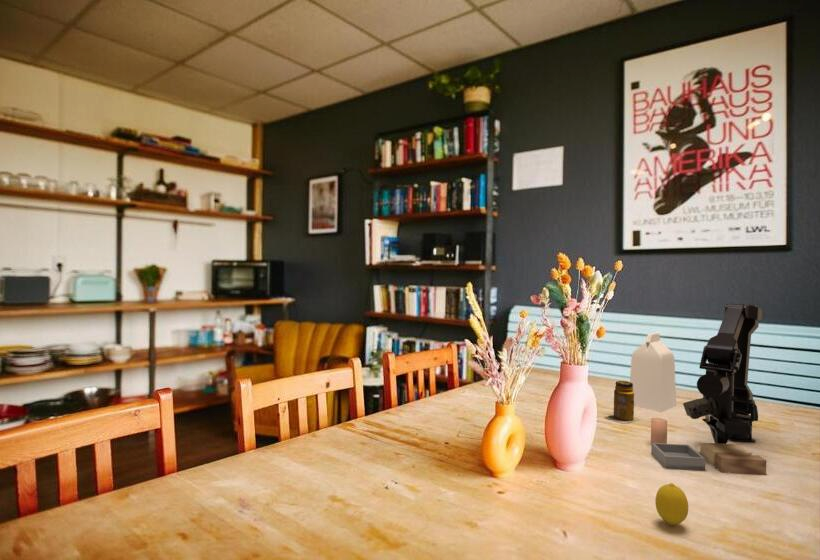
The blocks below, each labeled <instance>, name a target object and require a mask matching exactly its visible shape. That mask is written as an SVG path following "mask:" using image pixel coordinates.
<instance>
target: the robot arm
mask: <svg viewBox="0 0 820 560" xmlns="http://www.w3.org/2000/svg"><path fill="white" fill-rule="evenodd" d="M762 318H763V310H762V308H761V307H759V306H758V305H757V304H751V303H750V304H748V303H739V302H738V303H735V302H729V303H726V304H725V305H724V310H723V318H722V321H721V323H720V326H719V330H718V331H717V334H716V335H714V336H712V337H710V338H709V339H708V341H707V343H706V345H704V346H703V350H702V355H701V358H700V363H699V369H700V370H705V374H703V375H701V376H699V378H698V379H697V381H696V388H697V390H698V392H699V393H700V394H701V395H702V397H700V398H695V399H692V400H689V401H686V402H684V403H682V405H683V408H684V411H685V413H686V416H688V417H690V418H691V419H693V420H697V419H700V418H701V417H702V418H701V420H702V421H703V422H704V423H705V424H706V425H707V426H708V427H709V428H710V432H711V435H712V438H713V439H712V440H713V443H721V444H728V442H729V440H730V441H731V442H744V443H745V442H747V443H755V442H756V439H754V438H753V422H759V411H758V406H757V405H756V404H757V403H756V401H755V400H754V393H753V392H752V390H751V389H750V386H749V385H748V379H749V378H748V377H749V369H750V368H749V366H750V354H751V353H750V352H751V342H752V335H753V333H754V332H756V330H757V329H758V328H759V326H760V325H759V323H760V321H762ZM703 417H704V418H703Z"/></svg>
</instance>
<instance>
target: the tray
mask: <svg viewBox="0 0 820 560" xmlns="http://www.w3.org/2000/svg"><path fill="white" fill-rule="evenodd" d="M650 445H651V447H650V448H651V451H650V452H651V453H650V454H651V456H653V458H654V459H655V460H656V461H657V462H658V463H659V464H660V466H662V467H663V468H664V469H666V470H669V469H670V470H683V471H685V470H686V471H687V470H688V471H703V472H704V471H705V472H706V463H707V462H706V459H705V458H704V457H703V456H702V455H701V454H700V452H698V451H697V450H695V449H694V448H693V447H692V446H690V445H689V444H684V443H683V444H680V443H679V444H678V443H667V444H663V443H651V442H650Z"/></svg>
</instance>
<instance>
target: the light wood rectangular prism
mask: <svg viewBox="0 0 820 560" xmlns="http://www.w3.org/2000/svg"><path fill="white" fill-rule="evenodd" d="M699 448H700V450H699V451H700V452H699V454H701V455H702V456H703V457H704V458H705V459H706V461H707V462H706V463H708V464H709V465H710V464H711V465H710V466H712V467H715V453H720V454H740V455H752V452H751V451H749V450H747V449H745V448H744V447H742V446H740V445H739V444H738V443H726V444H721V443H715V442H710V443H709V442H700V447H699Z"/></svg>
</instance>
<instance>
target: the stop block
mask: <svg viewBox="0 0 820 560" xmlns="http://www.w3.org/2000/svg"><path fill="white" fill-rule="evenodd" d="M714 468H715V469H716V468H717V469H716V470H718V471H719V472H720V473H727V474H742V473H744V474H746V475H760V474H765V475H767V459H765V458H763V457H762V456H760V455H758V454H756V455H754V454H751V455H740V454H720V453H715V466H714ZM728 472H730V473H728ZM765 475H764V476H765Z"/></svg>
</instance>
